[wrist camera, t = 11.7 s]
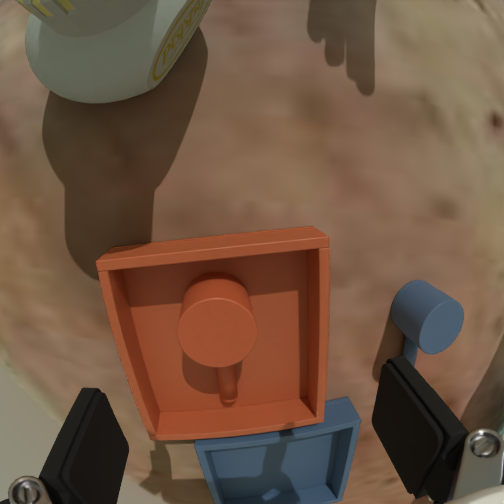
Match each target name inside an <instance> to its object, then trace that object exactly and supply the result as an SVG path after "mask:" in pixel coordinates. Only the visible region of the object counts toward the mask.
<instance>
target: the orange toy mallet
mask: <svg viewBox="0 0 504 504" xmlns="http://www.w3.org/2000/svg"><path fill="white" fill-rule="evenodd" d="M257 336H258V329H257V324H256V320H255V316H254V313H253V309H252V305H251V302H250V298H249V294H248V291H247V289H246V288H245V286H244V285H243V283H242V282H241V281H240V280H238V279H237V278H236V277H234V276H232V275H230V274H227V273H223V272H209V273H205V274H203V275H200V276H199V277H197V278H195V279H194V280H193V281H192V282H191V283H190V284H189V286H188V287H187V289H186V291H185V294H184V298H183V302H182V307H181V311H180V316H179V321H178V326H177V338H178V342H179V344H180V346H181V348H182V350H183V351H184V352H185V354H186V355H187V356H188V357H189V358H191V359H192V360H193V361H195V362H197V363H199V364H201V365H204V366H208V367H216V372H217V378H218V383H219V389H220V394H221V398H222V400H223V401H224V402H226V403H233V402H235V401H236V400H237V398H238V389H237V382H236V375H235V367H234V364H236V363H238V362H240V361H242V360H243V359H244V358H246V357H247V356H248V355H249V354H250V352H251V351H252V349H253V348H254V346H255V344H256V341H257Z"/></svg>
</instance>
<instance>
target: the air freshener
mask: <svg viewBox="0 0 504 504" xmlns="http://www.w3.org/2000/svg"><path fill="white" fill-rule="evenodd" d="M16 1H17V2H18V3H19V4H21V5H22V6H23V7H24V8H26V9H27V10H28V11H29V12H31V14H30V17H29V20H28V23H27V28H26V35H25V45H26V54H27V57H28V61H29V64H30V67H31V68H32V70H33V72H34V74H35V75H36V77H37V78H38V79H39V80H40V82H41V83H42V84H43V85H44V86H45V87H46V88H48V89H49V90H51V91H52V92H54V93H56V94H57V95H59V96H61V97H64V98H67V99H69V100H72V101H77V102H84V103H109V102H114V101H121V100H125V99H128V98H131V97H134V96H138V95H140V94H143V93H145V92H147V91H149V90H151V89H153V88H155V87H156V86H157V85H158V84H159V83H160V82H161V81H162V80H163V79H164V77H165V76H166V75H167V74H168V72H169V71H170V69H171V68H172V67H173V65H174V64H175V62H176V61H177V59H178V58H179V56H180V55H181V53H182V52H183V50H184V49H185V47H186V46H187V44H188V42H189V41H190V39H191V37H192V36H193V34H194V32H195V31H196V29H197V27H198V26H199V24H200V22H201V20H202V18H203V16H204V15H205V13H206V11H207V9H208V7H209V5H210V3H211V1H212V0H16Z"/></svg>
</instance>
